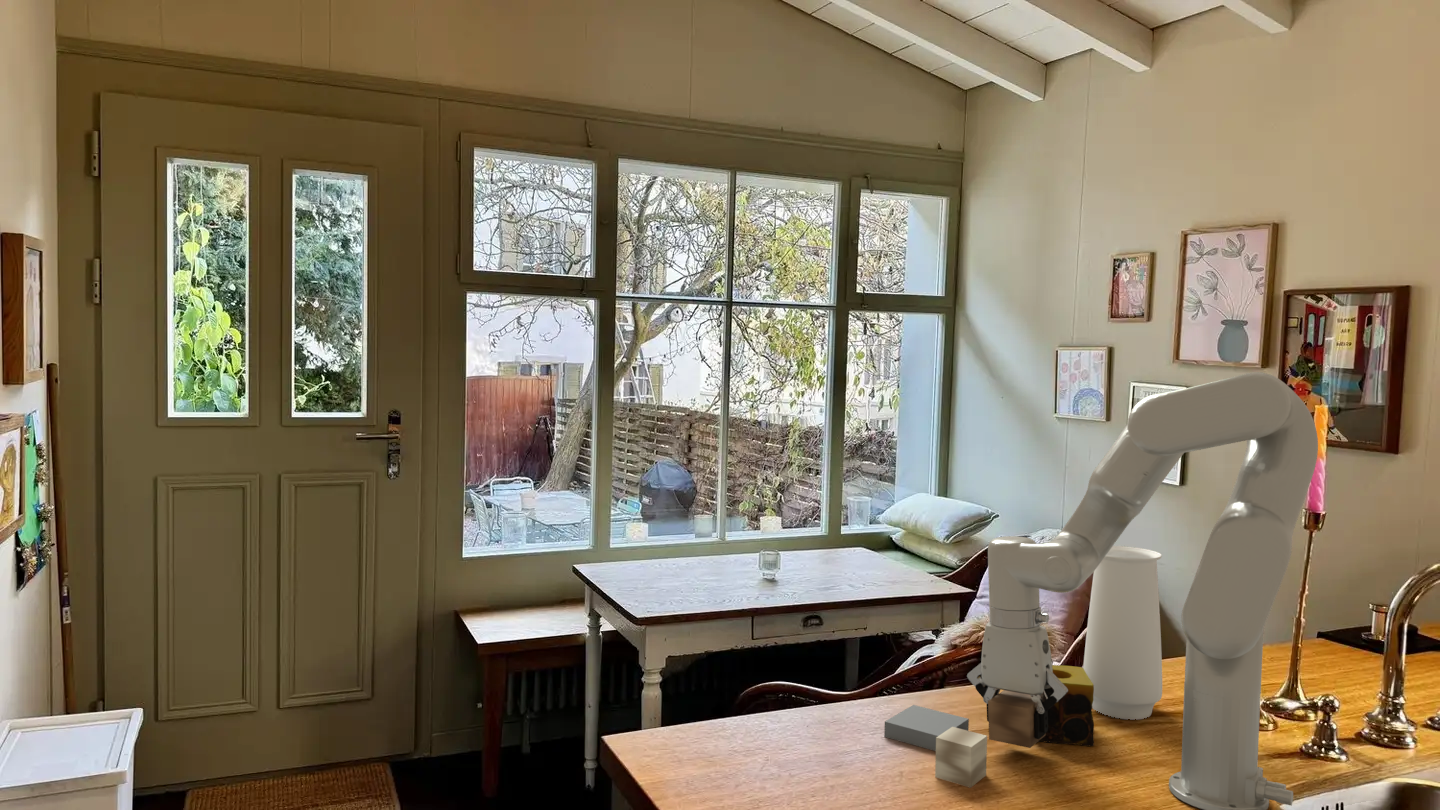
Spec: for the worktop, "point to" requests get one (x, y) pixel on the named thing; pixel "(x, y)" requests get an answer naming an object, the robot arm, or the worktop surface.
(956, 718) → the slate slab
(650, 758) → the worktop surface
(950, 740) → the maple block
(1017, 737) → the walnut block
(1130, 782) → the worktop surface
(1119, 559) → the vase
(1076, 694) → the yellow holed cube
